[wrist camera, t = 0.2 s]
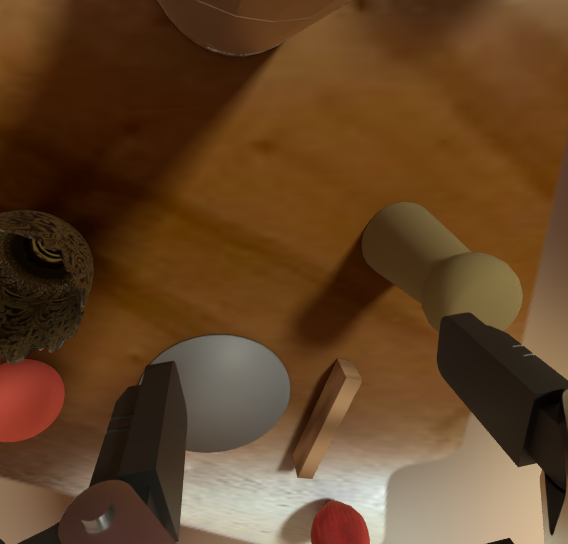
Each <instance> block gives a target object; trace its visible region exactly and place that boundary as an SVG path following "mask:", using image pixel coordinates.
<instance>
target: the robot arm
mask: <svg viewBox="0 0 568 544" xmlns="http://www.w3.org/2000/svg"><path fill="white" fill-rule="evenodd" d="M157 1H158V3H159V4H160V6H161V7H162V9H163V10H164V12H165V14H166V15H167V17H168V18H169V19H170V20H171V21H172V22H173V24H174V25H175V26H176V27H177V28H178V29H179V31H180V32H182V33H183V34H184V35H185V36H187V37H188V38H189V39H190V40H192V41H193V42H194V43H195V44H197V45H199V46H201V47H203V48H205V49H207V50H209V51H211V52H214V53H218V54H222V55H226V56H243V57H246V56H250V55H255V54H259V53H262V52H265V51H268V50H270V49H272V48H274V47H276V46H278V45H279V44H281V43H283V42H284V41H286V40H287V39H288V38H290V37H292V36H293V35H295V34H297V33H298V32H300V31H302V30H303V29H305V28H307V27H309V26H310V25H312V24H314V23H315V22H317V21H319V20H320V19H322V18H324V17H325V16H327V15H329V14H330V13H332V12H334V11H335V10H337V9H339V8H340V7H342V6H344V5H345V4H347V3H348V2H350V1H352V0H157ZM437 364H438V368H439V371H440V373H441V375H442V377H443V378H444V380H445V381H446V382H447V383H448V384H449V386H450V387H451V388H452V389H453V390H454V391H455V393H456V394H457V395H458V396H459V397H460V399H461V400H462V401H463V402H464V403H465V405H466V406H467V407H468V408H469V409H470V411H471V412H472V413H473V414H474V415H475V416H476V418H477V419H478V420H479V421H480V422H481V423H482V425H483V426H484V427H485V428H486V430H487V431H488V432H489V433H490V434H491V436H492V437H493V438H494V439H495V440H496V441H497V443H498V444H499V445H500V446H501V447H502V449H503V450H504V451H505V452H506V453H507V454H508V456H509V457H510V458H511V459H512V460H513V462H514V463H515V464H516V465H517V466H518V467H521V466H525V465H530V464H535V463H537V464H538V465H539V466H540V467H541V468H542V472H541V475H540V488H541V500H542V514H543V527H544V540H545V544H568V380H566V379H565V378H564V377H563V376H561V375H560V374H559V373H557V372H556V371H555V370H554V369H552V368H551V367H550V366H548V365H547V364H546V363H545V362H543V361H542V360H541V359H540V358H538V357H537V356H535V355H534V356H533V354H532V352H530V351H529V350H528V349H527V348H525V347H524V346H521V344H520V343H519V342H518V341H516V340H515V339H514V338H513V337H511V336H510V335H509V334H508V333H505V332H503V331H501V330H499V329H496V328H494V327H492V326H490V325H488V326H487V325H485V324H484V323H483V322H482V321H480V320H479V319H478V318H477V317H476V316H474V315H473V314H472V313H469V312H466V313H460V314H454V315H448V316H444V317H443V318H442V319H441V322H440V331H439V341H438V351H437ZM186 437H187V409H186V403H185V398H184V394H183V390H182V386H181V382H180V378H179V374H178V370H177V366H176V363H175V361H169V362H163V363H157V364H151V365H147V366H146V368H145V372H144V376H143V380H142V384H141V385H137V386H132V387H128V388H127V389H126V391H125V392H124V393H123V394H122V395H121V397H120V398H119V399H118V400H117V402H116V404H115V407H114V410H113V414H112V417H111V421H110V423H109V426H108V429H107V434H106V435H105V438H104V442H103V445H102V448H101V451H100V454H99V457H98V460H97V463H96V466H95V470H94V473H93V476H92V479H91V482H90V485H89V488H87V489H86V490H84V491H83V492H82V493H80V494H79V495H78V496H77V497H76V498H75V499H74V500H73V501H72V502H71V503H70V504H69V505H68V507H67V508H66V510H65V511H64V513H63V515H62V517H61V519H60V522H58V523H57V524H55V525H54V526H52V527H50V528H48V529H46V530H44V531H42V532H40V533H38V534H36V535H34V536H32V537H30V538H28V539H26V540H24V541H22V542H20V543H18V544H177V543H176V542H178V541H179V528H180V515H181V502H182V489H183V476H184V463H185V450H186ZM0 544H5V543H4V542H3V541H2V540H1V539H0ZM487 544H514V543H513V542H512V540H511V539H510V538H507V539H503V540H499V541H495V542H491V543H487Z"/></svg>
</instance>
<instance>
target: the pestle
mask: <svg viewBox="0 0 568 544" xmlns="http://www.w3.org/2000/svg"><path fill="white" fill-rule="evenodd" d="M361 246H362V255H363V257H364V259H365V261H366V263H367V264H368V265H369V266H370V267H371V268H372V269H373V270H374V271H376V272H377V273H379V274H380V275H381V276H383V277H384V278H386V279H387V280H389V281H390V282H391V283H393V284H394V285H396V286H397V287H398V288H400V289H401V290H403V291H404V292H406V293H407V294H408V295H410V296H411V297H413V298H414V299H415V300H417V301H418V302H420V303H421V304H422V308H423V310H424V312H425V315H426V317H427V319H428V322H429V323H430V324H431V325H432V327H433V328H434V329H435V330H437V331H438V332H439V331H440V322H441V319H442V318H443V317H444V316H448V315H454V314H460V313H466V312H469V313H472V314H473V315H474V316H476V317H477V318H478V319H479V320H480V321H482V322H483V323H484V324H485V325H487V326H488V325H490V326H492V327H494V328H496V329H499V330H501V331H504V330H505V329H506V328H507V327H509V326H510V324H511V323H512V322H513V320H514V319H515V318H516V316H517V314H518V312H519V310H520V307H521V305H522V296H523V294H522V289H521V286H520V282H519V278H518V277H517V275H516V274H515V273H514V272H513V271H512V270H511V268H510V267H509V266H508V265H507V264H506V263H505V262H503V261H501V260H499V259H497V258H495V257H493V256H491V255H489V254H485V253H479V252H471V251H470V250H469V249H468V248H466V247H465V246H464V245H463V244H462V243H461V242H460V241H459V240H458V239H457V238H456V237H455V236H454V235H453V234H452V233H451V232H450V231H448V230H447V229H446V228H445V227H444V226H443V225H442V224H441V223H440V222H439V221H438V220H437V219H436V218H435V217H434V216H433V215H432V214H431V213H429V212H428V211H427V210H426V209H425V208H424V207H422V206H420V205H418V204H416V203H412V202H399V203H395V204H391V205H389V206H387V207H386V208H384V209H382V210H380V211H379V212H378V213H377V214H376V215H375V216H374V217H373V218H372V219H371V220H370V222H369V223H368V225H367V227H366V229H365V231H364V233H363V238H362V242H361Z"/></svg>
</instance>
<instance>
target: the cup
mask: <svg viewBox="0 0 568 544" xmlns="http://www.w3.org/2000/svg"><path fill="white" fill-rule="evenodd" d="M47 249H50V250H52V251H54V252H58V254H57V253H52V252H50V251H48V250H47ZM93 274H94V263H93V257H92V253H91V251H90V248H89V246H88V244H87V242H86V241H85V239H84V238H83V236H82V235H81V234H80V233H79V232H78V231H77V230H76V229H75V228H74V227H73V226H71V225H70V224H69V223H67V222H66V221H64V220H62V219H60V218H58V217H56V216H54V215H51V214H48V213H44V212H40V211H34V210H14V211H7V212H2V213H0V358H2V357H6V359H7V362H8V363H10V364H17V363H19V362H21V361H23V360H24V358H25V357H26V356H27V355H28V354H29V353H30V351H33V350H39V351H41V350H43V349H44V348H46V347H49V352H50V353H53V352H56V351H57V350H58V349H59V348H60V347H61V346H62V345H63V343H64V342H65V340H70V339H71V338H72V337H74V335H75V334H76V332H77V330H78V328H79V325H80V322H81V320H82V316H83V312H84V309H85V306H86V303H87V300H88V296H89V293H90V290H91V286H92V281H93Z"/></svg>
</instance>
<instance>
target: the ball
mask: <svg viewBox="0 0 568 544" xmlns="http://www.w3.org/2000/svg"><path fill="white" fill-rule="evenodd" d="M64 398H65V388H64V384H63V381H62V379H61V377H60V375H59V374H58V373H57V371H56V370H55V369H54V368H52V367H51V366H49V365H48V364H46V363H44V362H41V361H38V360H33V359H24V360H23V361H21V362H19V363H17V364H10V363H8V362H6V363H3V364H1V365H0V442H17V441H22V440H26V439H29V438H31V437H33V436H35V435H37V434H39V433H41V432H42V431H44V430H45V429H46V428H47V427H49V426H50V425H51V424H52V423H53V421H54V420H55V419H56V418H57V416H58V415H59V413H60V411H61V409H62V406H63V403H64Z"/></svg>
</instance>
